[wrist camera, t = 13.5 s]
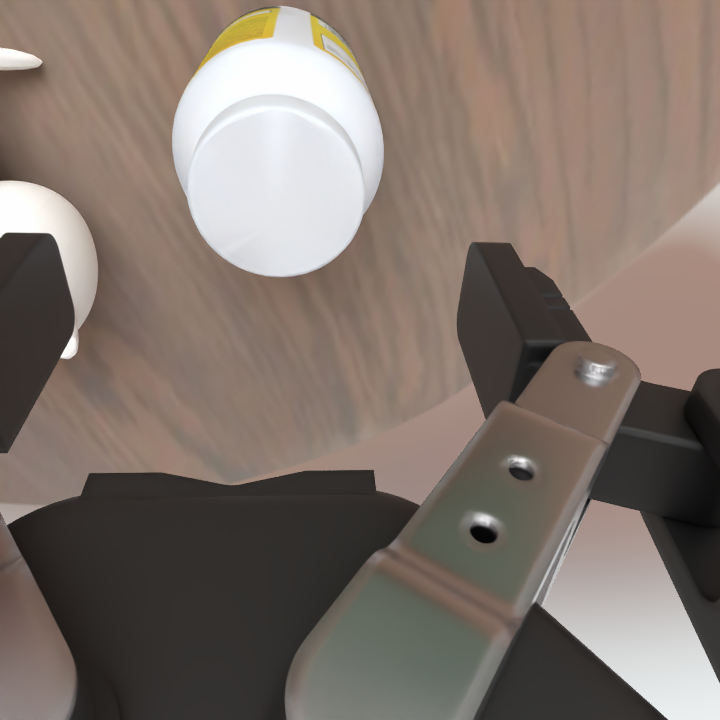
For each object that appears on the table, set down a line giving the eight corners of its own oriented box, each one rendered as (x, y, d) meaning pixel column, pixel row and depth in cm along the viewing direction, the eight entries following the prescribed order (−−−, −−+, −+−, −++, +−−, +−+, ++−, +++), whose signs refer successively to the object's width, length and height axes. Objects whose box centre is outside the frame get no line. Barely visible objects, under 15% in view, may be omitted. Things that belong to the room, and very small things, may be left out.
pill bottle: (180, 121, 26) (110, 242, 16) (247, -36, 23) (208, 5, 13) (316, 195, 28) (322, 339, 19) (393, 63, 25) (447, 156, 16)
